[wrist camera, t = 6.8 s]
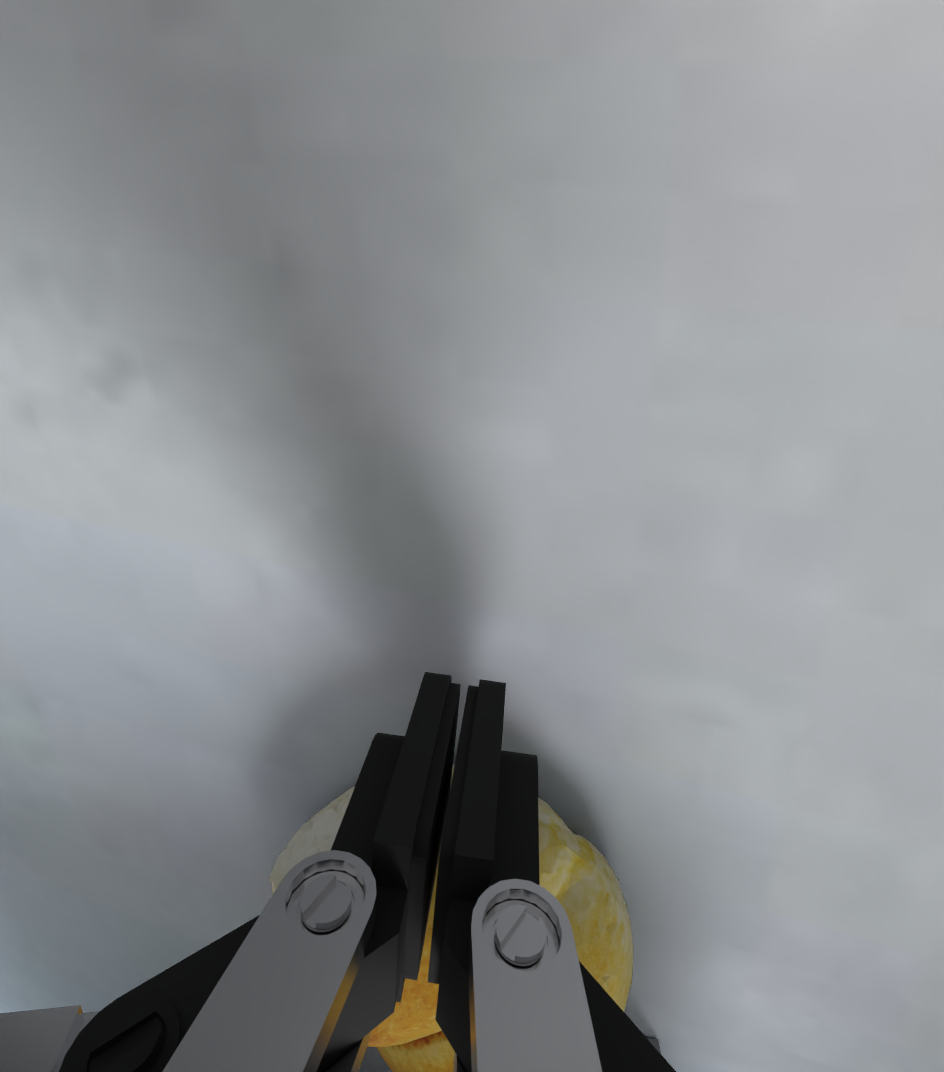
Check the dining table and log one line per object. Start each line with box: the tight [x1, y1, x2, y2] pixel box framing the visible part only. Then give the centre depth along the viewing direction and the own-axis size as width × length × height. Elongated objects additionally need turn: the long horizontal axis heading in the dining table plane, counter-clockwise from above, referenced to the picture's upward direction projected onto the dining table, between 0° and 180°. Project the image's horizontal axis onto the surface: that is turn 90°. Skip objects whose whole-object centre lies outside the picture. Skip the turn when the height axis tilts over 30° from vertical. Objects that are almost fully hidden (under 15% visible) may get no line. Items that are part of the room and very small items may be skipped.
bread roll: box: [270, 764, 633, 1072], centre depth 13 cm, size 8×9×4 cm
